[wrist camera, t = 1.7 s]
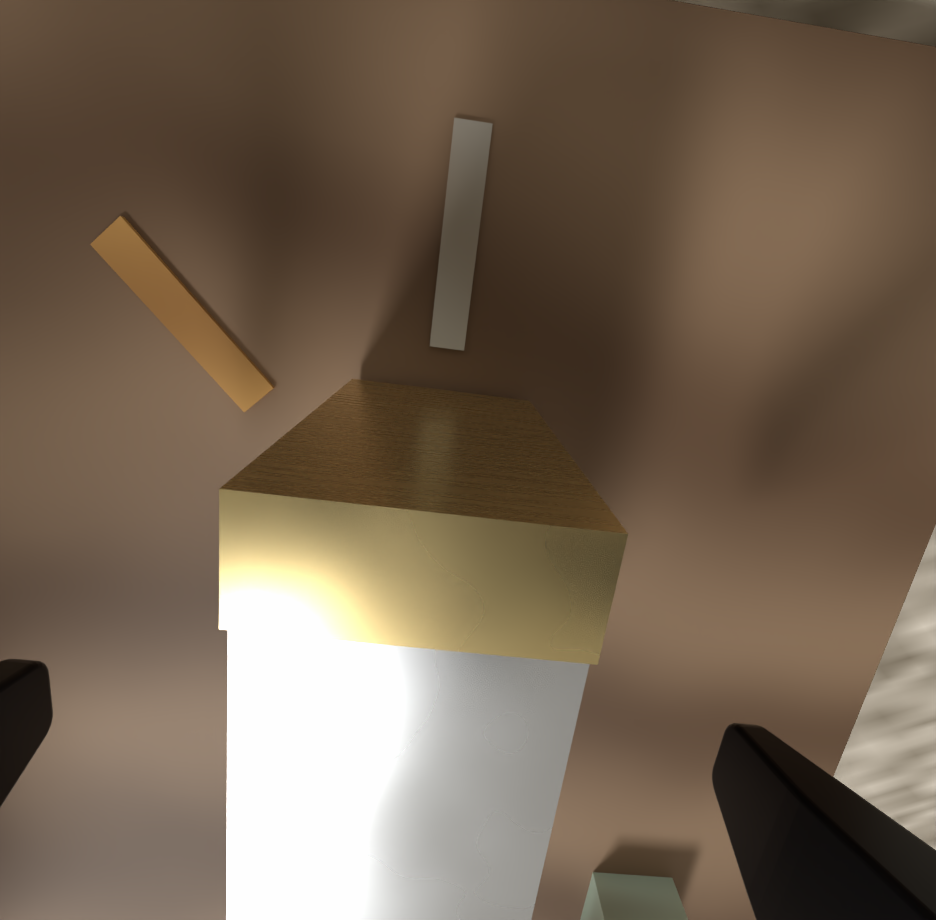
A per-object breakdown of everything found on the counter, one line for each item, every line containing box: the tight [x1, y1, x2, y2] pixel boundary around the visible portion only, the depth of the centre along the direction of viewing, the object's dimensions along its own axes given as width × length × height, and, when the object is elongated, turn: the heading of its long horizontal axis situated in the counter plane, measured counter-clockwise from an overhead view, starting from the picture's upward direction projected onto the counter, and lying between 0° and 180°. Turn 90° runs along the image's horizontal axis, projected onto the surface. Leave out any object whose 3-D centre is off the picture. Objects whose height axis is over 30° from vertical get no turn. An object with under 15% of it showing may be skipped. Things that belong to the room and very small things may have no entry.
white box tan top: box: [219, 379, 628, 920], centre depth 8 cm, size 7×3×6 cm, turn 173°
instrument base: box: [0, 0, 936, 920], centre depth 11 cm, size 24×22×3 cm
